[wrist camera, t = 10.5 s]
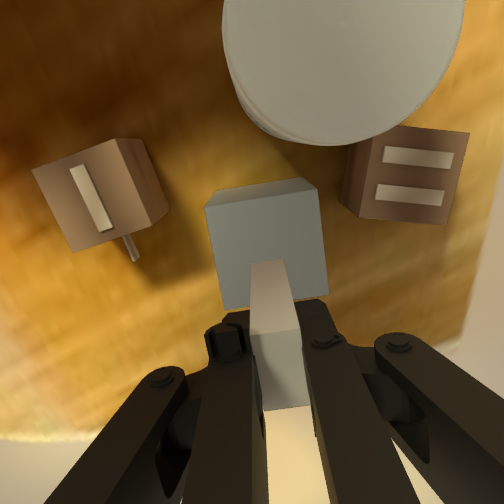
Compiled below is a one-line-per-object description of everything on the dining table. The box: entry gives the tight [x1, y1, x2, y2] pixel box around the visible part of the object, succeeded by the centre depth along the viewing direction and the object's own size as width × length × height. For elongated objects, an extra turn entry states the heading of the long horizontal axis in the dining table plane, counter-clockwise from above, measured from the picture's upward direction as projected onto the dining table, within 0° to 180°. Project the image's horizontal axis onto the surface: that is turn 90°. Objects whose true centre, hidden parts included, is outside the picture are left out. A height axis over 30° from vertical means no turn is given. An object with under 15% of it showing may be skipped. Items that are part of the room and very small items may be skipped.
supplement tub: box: [222, 0, 465, 146], centre depth 21 cm, size 10×10×15 cm
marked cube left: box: [31, 139, 171, 261], centre depth 28 cm, size 6×8×6 cm
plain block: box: [204, 177, 329, 310], centre depth 28 cm, size 7×7×8 cm
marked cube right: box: [340, 125, 470, 226], centre depth 27 cm, size 6×6×6 cm
